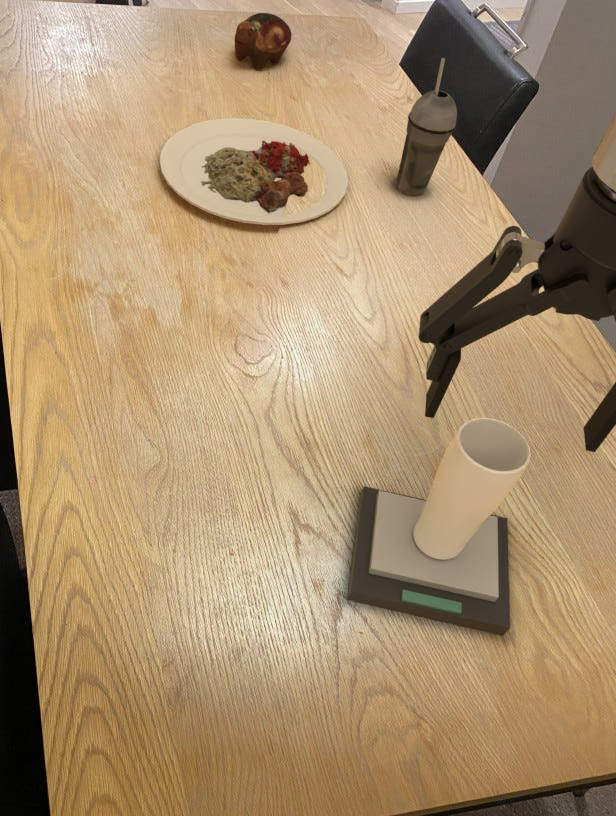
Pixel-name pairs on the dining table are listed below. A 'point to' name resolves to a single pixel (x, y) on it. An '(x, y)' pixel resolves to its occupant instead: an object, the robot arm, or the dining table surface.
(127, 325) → the dining table surface
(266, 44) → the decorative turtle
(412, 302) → the dining table surface
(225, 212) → the plated food
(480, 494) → the drinking glass
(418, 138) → the beverage cup
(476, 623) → the scale
